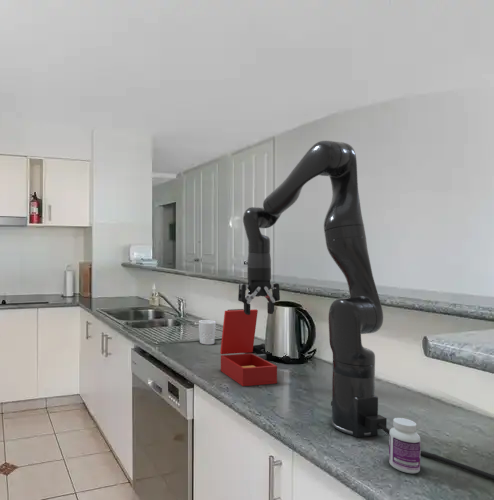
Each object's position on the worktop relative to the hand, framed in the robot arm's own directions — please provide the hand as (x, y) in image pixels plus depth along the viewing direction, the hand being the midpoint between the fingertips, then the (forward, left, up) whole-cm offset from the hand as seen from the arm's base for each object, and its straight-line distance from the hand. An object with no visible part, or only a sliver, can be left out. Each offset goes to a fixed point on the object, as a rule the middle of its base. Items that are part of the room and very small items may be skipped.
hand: (259, 314), depth 133 cm
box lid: (+10, +2, -8) cm, 13 cm away
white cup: (+50, -4, -23) cm, 55 cm away
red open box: (+4, +2, -23) cm, 23 cm away
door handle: (+24, -16, -23) cm, 37 cm away
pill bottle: (-53, -1, -23) cm, 58 cm away
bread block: (+2, +2, -22) cm, 22 cm away
